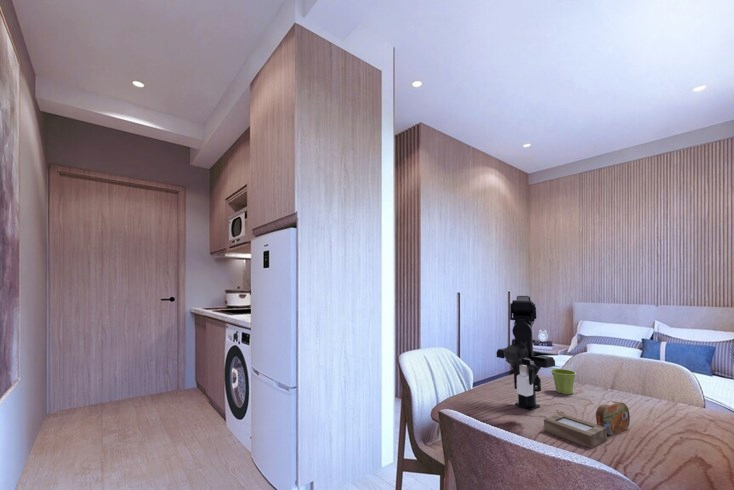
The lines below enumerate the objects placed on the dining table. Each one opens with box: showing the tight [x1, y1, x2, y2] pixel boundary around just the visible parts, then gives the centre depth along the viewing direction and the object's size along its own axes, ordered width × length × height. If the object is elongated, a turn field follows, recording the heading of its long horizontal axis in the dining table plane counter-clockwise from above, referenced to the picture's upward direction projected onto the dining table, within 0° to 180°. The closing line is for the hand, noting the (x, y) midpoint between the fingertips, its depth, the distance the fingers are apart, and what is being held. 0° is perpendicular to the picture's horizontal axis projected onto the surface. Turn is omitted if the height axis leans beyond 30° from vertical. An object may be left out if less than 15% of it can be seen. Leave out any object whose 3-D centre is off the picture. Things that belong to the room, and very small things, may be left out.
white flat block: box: [558, 418, 593, 431], centre depth 103 cm, size 5×8×1 cm, turn 33°
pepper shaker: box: [516, 365, 533, 396], centre depth 115 cm, size 4×4×10 cm
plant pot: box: [550, 368, 577, 395], centre depth 144 cm, size 9×9×9 cm
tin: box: [595, 400, 631, 436], centre depth 107 cm, size 15×3×8 cm, turn 117°
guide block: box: [543, 412, 608, 449], centre depth 103 cm, size 10×13×3 cm
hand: (525, 383), depth 115 cm, fingers closed on pepper shaker, 4 cm apart
